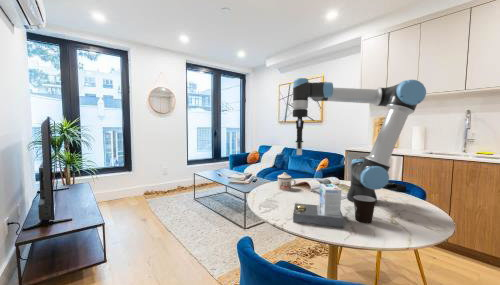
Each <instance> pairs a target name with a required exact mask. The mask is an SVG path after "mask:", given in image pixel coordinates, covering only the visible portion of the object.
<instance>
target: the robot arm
mask: <svg viewBox="0 0 500 285" xmlns="http://www.w3.org/2000/svg"><path fill="white" fill-rule="evenodd" d="M292 87H293V88H292V103H291V105H292V109H293V110H292V117H293V118H296V120H295V125H296V126H295V127H296V128H295V130H296V140H295V143H296V156H302V155H303V143H304V140H303V129H304V124H305V120H303V118H308V116H309V115H308V108H309V107H308V106H309V98H311V100H312V101H314V102H335V103H337V102H338V103H357V104H371V105H372V104H373V105H375V106H377V107H385V108H387V109H388V110H387V112H386V116H385V117H384V120H383V122H382V125H381V126H380V130H379V132H378V134H377V136H376V139H375V141H374V143H373V146H372V149H371V151H370V153H369V155H368V156H365V157H364V158H363V159H362V158H360V159H359V158H358V159H357V158H354V159H352V160H351V164H350V185H349V189H348V191H347V194H346V200H348V201H350V202H353V203H354V198H353V197H354V196H357V195H361V196H369V197H372V198H374V199H376V201H375V204H377V203H378V196H377V194H376V191H377V190H381V189H384V188H383V187H384V186H386V185H387V183H388V182H390V175H389V171H390V168H391V165H390V162H389V161H390V159H391V156H392V154H393V152H394V149H395V147H396V144H397V142H398V141H399V137H400V135H401V133H402V131H403V129H404V126H405V124H406V122H407V119H408V117H409V116H410V115H411V114H414V112H415V110H416V108H417V106H418V104H420V103H422V101H424V100H425V98H426V96H427V89H426V86H425V85H424V83H423V82H421V81H419V80H418V79H417V80H416V79H407V80H403V81H401V82H398V83H397V84H395V85H392V86H387V87H378V88H375V89H373V88H355V87H354V88H353V87H352V88H350V87H334V83H333V82H332V81H329V82H328V81H321V82H309V78H307V77H304V78H303V77H299V78H296V79H295V78H294V80H293V86H292ZM375 190H376V191H375Z"/></svg>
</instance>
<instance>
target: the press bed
mask: <svg viewBox="0 0 500 285" xmlns="http://www.w3.org/2000/svg"><path fill="white" fill-rule="evenodd" d="M297 205H304V206H305V208H304V210H298V208H297ZM292 213H293V215H292V222H293V223H295V224H303V225H312V226H319V227H328V228H338V229H345V228H344V226H345V225H344V224H345V218H344V216H343V213H342V210H341V209H340V215H325V214H324V213H323V211H322V210H321V208H320V207H319V204H306V203H297V202H296V203H294V208H293V212H292Z"/></svg>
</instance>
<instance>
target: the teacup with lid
mask: <svg viewBox="0 0 500 285" xmlns="http://www.w3.org/2000/svg"><path fill="white" fill-rule="evenodd" d="M292 181H293V184H292ZM296 183H297V181H296V179H294V178H292V176H291V175H289V174H288V173H287V172H283V173H281V174H278V175H277V189H278V190H279V191H291V190H292V187H295V185H296Z"/></svg>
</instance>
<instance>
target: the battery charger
mask: <svg viewBox="0 0 500 285" xmlns="http://www.w3.org/2000/svg"><path fill="white" fill-rule="evenodd" d="M382 189H383V190H384V189H385V190H387V191H393V192H396V193H398V192H399V193H400V192H405V191H407V185H404V184H399V183H394V182H390V181H388V183H387V185H386V186H384V187H383V188H382Z"/></svg>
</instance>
